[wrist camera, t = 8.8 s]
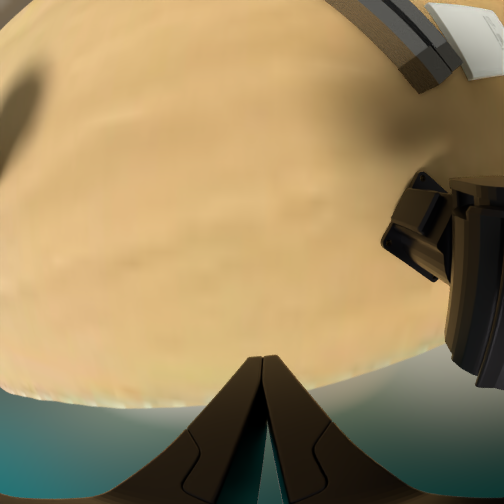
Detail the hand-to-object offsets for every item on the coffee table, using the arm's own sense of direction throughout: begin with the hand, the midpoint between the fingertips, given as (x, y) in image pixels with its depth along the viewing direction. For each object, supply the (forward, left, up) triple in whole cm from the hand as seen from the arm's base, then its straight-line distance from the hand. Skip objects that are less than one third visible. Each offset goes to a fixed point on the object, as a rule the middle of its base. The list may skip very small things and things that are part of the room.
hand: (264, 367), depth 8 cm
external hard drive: (-9, -30, -13) cm, 34 cm away
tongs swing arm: (+5, -22, -12) cm, 25 cm away
